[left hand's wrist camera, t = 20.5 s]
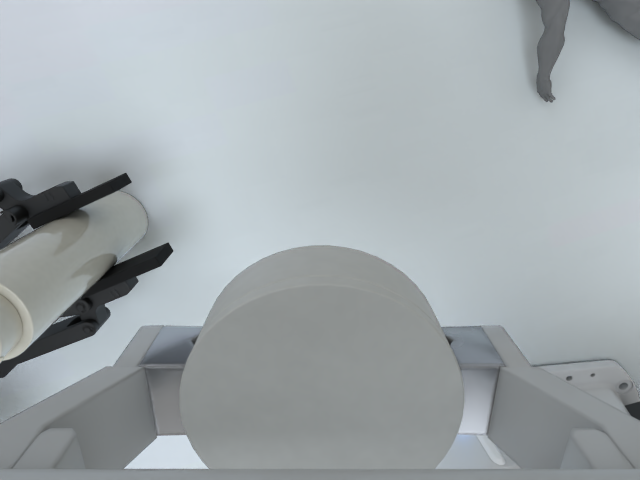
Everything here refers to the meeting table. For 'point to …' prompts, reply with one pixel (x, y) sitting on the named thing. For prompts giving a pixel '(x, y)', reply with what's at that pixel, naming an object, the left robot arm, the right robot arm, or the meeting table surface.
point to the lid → (321, 369)
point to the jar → (62, 266)
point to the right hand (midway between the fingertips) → (142, 219)
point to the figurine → (619, 3)
